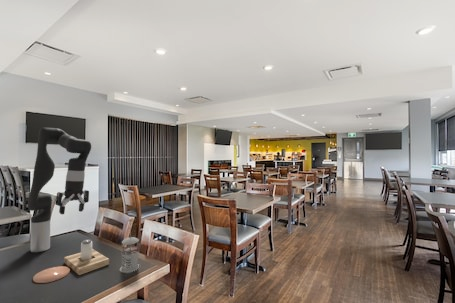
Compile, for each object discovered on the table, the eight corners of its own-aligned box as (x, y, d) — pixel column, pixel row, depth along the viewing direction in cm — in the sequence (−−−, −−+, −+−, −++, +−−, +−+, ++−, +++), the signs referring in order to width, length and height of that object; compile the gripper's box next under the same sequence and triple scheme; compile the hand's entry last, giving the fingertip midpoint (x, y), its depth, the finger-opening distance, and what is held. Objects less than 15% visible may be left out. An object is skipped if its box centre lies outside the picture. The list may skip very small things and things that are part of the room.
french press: (127, 274, 113) (128, 222, 113) (113, 268, 119) (113, 218, 119) (144, 266, 121) (145, 217, 121) (130, 260, 127) (130, 214, 128)
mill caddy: (64, 262, 125) (64, 257, 125) (92, 254, 136) (92, 248, 136) (79, 275, 112) (79, 268, 112) (108, 264, 123) (109, 258, 123)
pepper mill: (79, 264, 123) (79, 241, 123) (89, 260, 127) (90, 238, 128) (83, 267, 120) (83, 243, 120) (93, 263, 124) (94, 240, 124)
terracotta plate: (29, 276, 111) (29, 274, 111) (64, 265, 122) (64, 263, 122) (37, 286, 102) (37, 284, 102) (74, 274, 113) (74, 272, 113)
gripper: (85, 178, 124) (81, 209, 123) (55, 179, 111) (51, 213, 111) (93, 179, 120) (90, 211, 120) (63, 181, 107) (59, 216, 107)
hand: (71, 212), depth 115 cm, fingers open, 8 cm apart
